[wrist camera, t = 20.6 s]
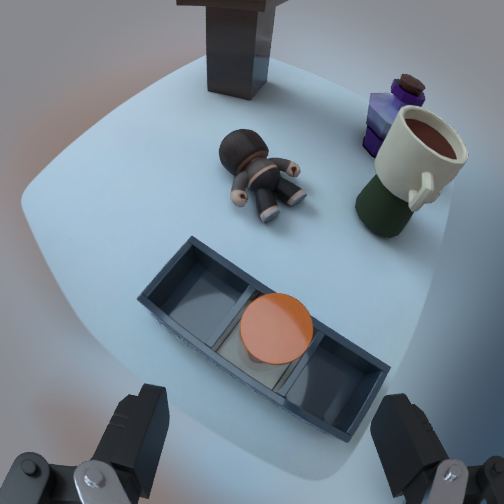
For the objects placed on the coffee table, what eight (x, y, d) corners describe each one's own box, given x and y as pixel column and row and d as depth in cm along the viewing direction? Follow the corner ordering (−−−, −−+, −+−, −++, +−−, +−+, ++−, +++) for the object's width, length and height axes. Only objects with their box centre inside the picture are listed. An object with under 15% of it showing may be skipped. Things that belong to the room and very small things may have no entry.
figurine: (307, 200, 32) (256, 136, 33) (325, 178, 27) (265, 109, 29) (247, 237, 29) (195, 164, 31) (257, 217, 25) (197, 137, 26)
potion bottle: (395, 133, 38) (426, 72, 27) (415, 175, 34) (457, 111, 23) (345, 123, 37) (370, 54, 26) (360, 167, 33) (397, 91, 22)
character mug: (401, 268, 27) (479, 195, 16) (341, 244, 28) (400, 153, 16) (406, 192, 32) (457, 117, 21) (356, 171, 33) (396, 85, 21)
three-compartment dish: (329, 435, 20) (347, 443, 16) (150, 313, 24) (136, 298, 20) (367, 371, 23) (391, 366, 19) (197, 258, 26) (191, 235, 23)
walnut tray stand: (254, 116, 36) (266, -9, 20) (184, 99, 37) (175, -13, 21) (284, 75, 42) (300, -19, 26) (225, 62, 43) (228, -27, 27)
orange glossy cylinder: (257, 381, 21) (270, 379, 14) (227, 341, 22) (224, 319, 15) (297, 351, 22) (327, 334, 15) (267, 313, 24) (283, 279, 16)
